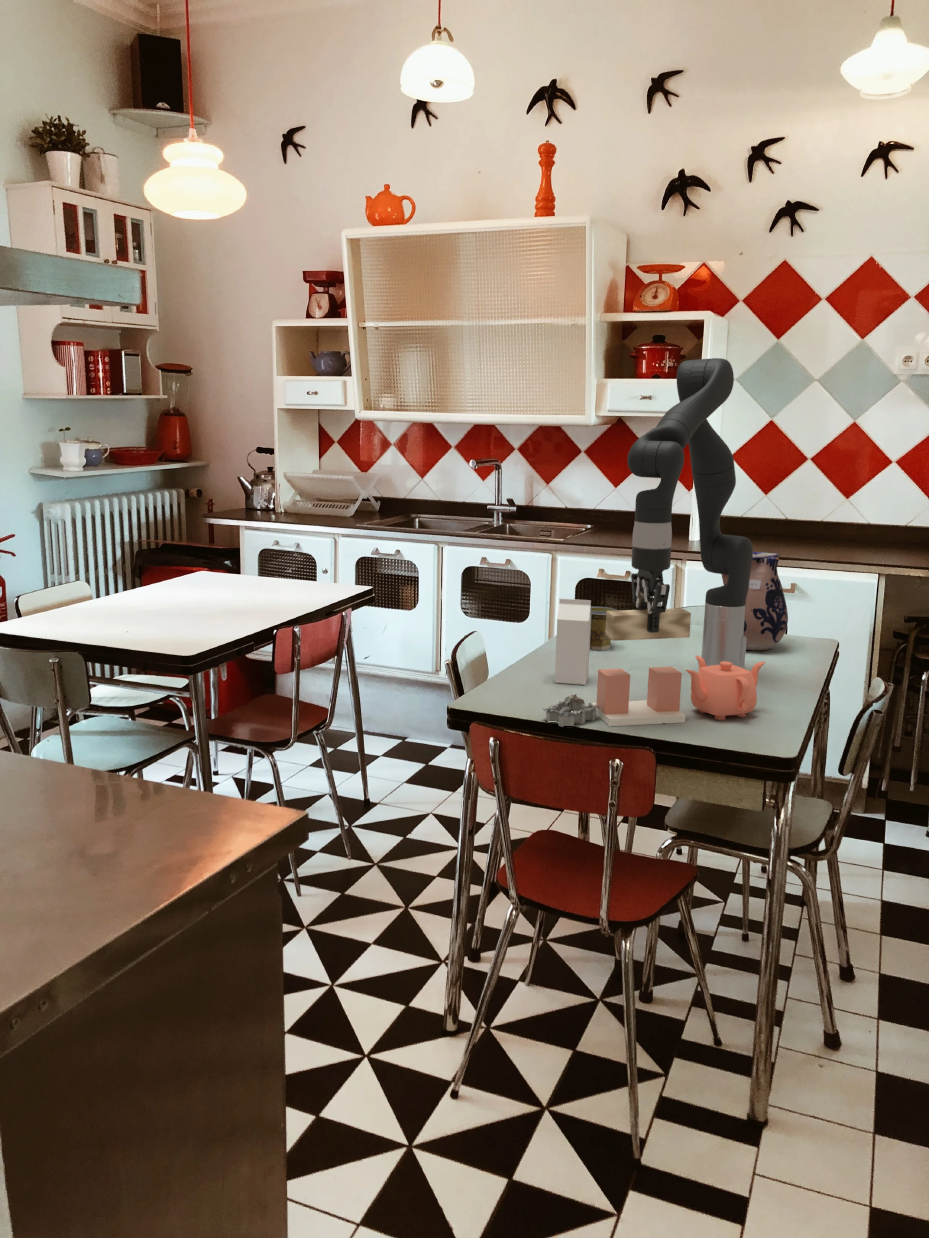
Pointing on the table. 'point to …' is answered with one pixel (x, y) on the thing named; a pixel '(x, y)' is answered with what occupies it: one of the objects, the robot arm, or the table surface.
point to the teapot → (724, 689)
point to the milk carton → (573, 641)
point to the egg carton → (564, 708)
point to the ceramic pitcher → (764, 603)
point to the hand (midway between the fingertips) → (647, 628)
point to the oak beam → (635, 624)
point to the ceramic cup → (599, 629)
